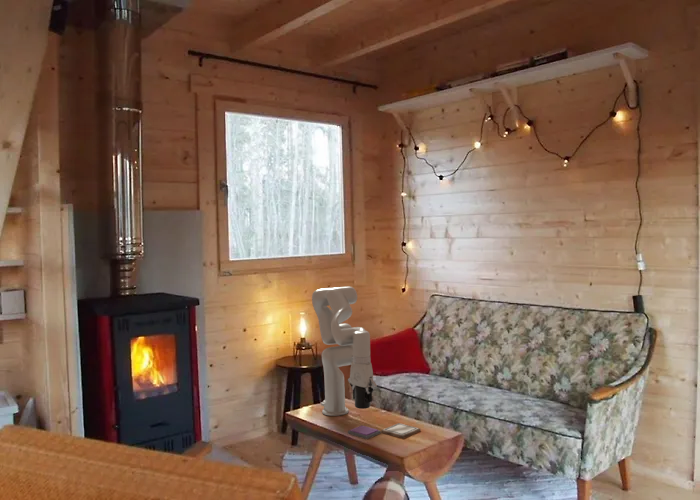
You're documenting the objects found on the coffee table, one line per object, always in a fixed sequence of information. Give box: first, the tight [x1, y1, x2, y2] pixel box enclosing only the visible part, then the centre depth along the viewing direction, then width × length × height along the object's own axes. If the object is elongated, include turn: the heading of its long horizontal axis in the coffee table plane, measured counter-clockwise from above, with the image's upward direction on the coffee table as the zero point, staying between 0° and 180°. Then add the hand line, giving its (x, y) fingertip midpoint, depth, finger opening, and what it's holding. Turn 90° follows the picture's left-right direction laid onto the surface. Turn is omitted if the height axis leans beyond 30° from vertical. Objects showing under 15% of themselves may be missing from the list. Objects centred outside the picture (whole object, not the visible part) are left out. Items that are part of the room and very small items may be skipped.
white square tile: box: [380, 422, 421, 439], centre depth 270 cm, size 12×12×1 cm
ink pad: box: [347, 425, 382, 440], centre depth 269 cm, size 11×9×2 cm
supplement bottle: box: [354, 386, 371, 410], centre depth 269 cm, size 7×7×12 cm
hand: (362, 399), depth 269 cm, fingers closed on supplement bottle, 6 cm apart
